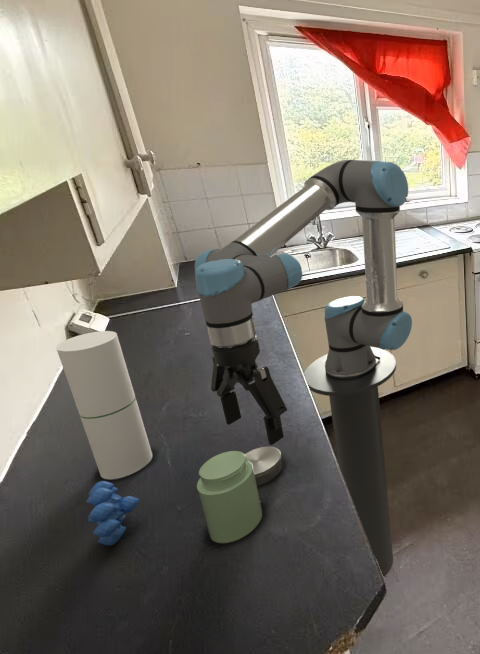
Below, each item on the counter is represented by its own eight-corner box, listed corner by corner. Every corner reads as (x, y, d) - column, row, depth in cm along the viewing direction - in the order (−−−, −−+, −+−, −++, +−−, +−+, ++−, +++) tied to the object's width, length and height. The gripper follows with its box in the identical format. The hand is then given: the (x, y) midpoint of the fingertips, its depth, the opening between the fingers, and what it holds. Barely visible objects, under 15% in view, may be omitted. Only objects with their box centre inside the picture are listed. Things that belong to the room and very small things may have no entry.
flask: (260, 497, 84) (248, 441, 80) (264, 528, 78) (252, 469, 74) (209, 517, 80) (194, 459, 76) (209, 552, 73) (193, 490, 69)
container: (93, 468, 91) (49, 343, 81) (143, 445, 98) (107, 327, 88) (109, 485, 86) (64, 355, 77) (159, 459, 93) (124, 337, 84)
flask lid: (272, 486, 87) (269, 474, 86) (228, 488, 86) (226, 476, 85) (289, 456, 95) (287, 445, 94) (249, 458, 94) (247, 447, 93)
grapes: (149, 546, 74) (132, 492, 70) (96, 571, 70) (75, 515, 66) (145, 505, 82) (130, 454, 78) (98, 525, 78) (79, 472, 74)
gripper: (296, 345, 79) (311, 437, 86) (215, 319, 89) (234, 403, 96) (258, 364, 73) (278, 462, 80) (175, 333, 83) (199, 423, 90)
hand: (254, 430), depth 88 cm, fingers open, 13 cm apart
